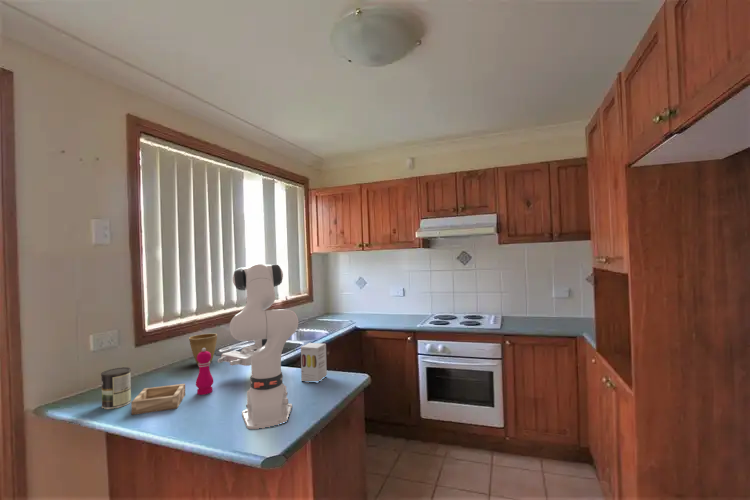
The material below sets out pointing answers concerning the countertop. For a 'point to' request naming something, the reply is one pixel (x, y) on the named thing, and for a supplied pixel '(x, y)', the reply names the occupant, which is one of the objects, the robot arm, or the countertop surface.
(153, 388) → the crate
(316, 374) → the supplement box
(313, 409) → the countertop surface
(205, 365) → the pepper mill
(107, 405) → the coffee can
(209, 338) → the plant pot
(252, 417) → the robot arm
